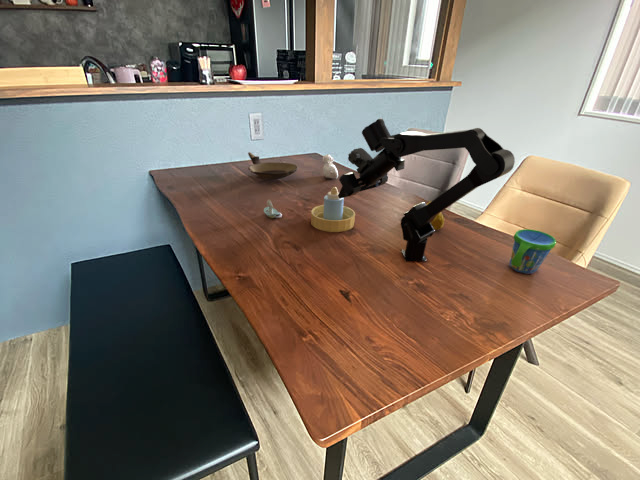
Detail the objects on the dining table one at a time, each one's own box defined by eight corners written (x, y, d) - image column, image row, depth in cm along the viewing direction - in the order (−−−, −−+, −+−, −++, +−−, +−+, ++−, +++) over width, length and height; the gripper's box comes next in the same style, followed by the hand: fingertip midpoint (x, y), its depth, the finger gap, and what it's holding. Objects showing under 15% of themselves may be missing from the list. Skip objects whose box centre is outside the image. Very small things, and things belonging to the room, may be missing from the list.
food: (443, 233, 126) (447, 216, 122) (426, 232, 126) (430, 215, 123) (434, 211, 143) (438, 196, 139) (420, 210, 143) (423, 195, 139)
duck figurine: (324, 178, 179) (312, 159, 171) (336, 167, 178) (324, 148, 170) (333, 185, 170) (320, 166, 163) (346, 174, 169) (333, 155, 161)
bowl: (356, 233, 123) (357, 221, 120) (311, 233, 122) (312, 220, 119) (351, 216, 135) (352, 204, 132) (310, 216, 134) (310, 204, 131)
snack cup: (524, 284, 101) (539, 250, 94) (491, 268, 107) (502, 235, 101) (553, 269, 108) (568, 237, 102) (520, 255, 115) (533, 224, 109)
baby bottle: (342, 226, 126) (345, 190, 118) (323, 226, 125) (325, 190, 118) (340, 219, 131) (343, 184, 124) (322, 219, 131) (324, 183, 123)
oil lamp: (258, 187, 158) (256, 169, 153) (241, 169, 179) (239, 152, 174) (305, 183, 165) (306, 165, 161) (283, 165, 187) (283, 149, 182)
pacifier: (277, 212, 137) (262, 213, 134) (277, 195, 133) (262, 196, 131) (284, 219, 131) (269, 220, 129) (285, 202, 128) (268, 203, 125)
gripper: (385, 136, 111) (354, 166, 123) (346, 144, 99) (316, 177, 112) (403, 169, 111) (369, 195, 124) (366, 181, 100) (333, 209, 113)
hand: (348, 193), depth 118 cm, fingers open, 9 cm apart
